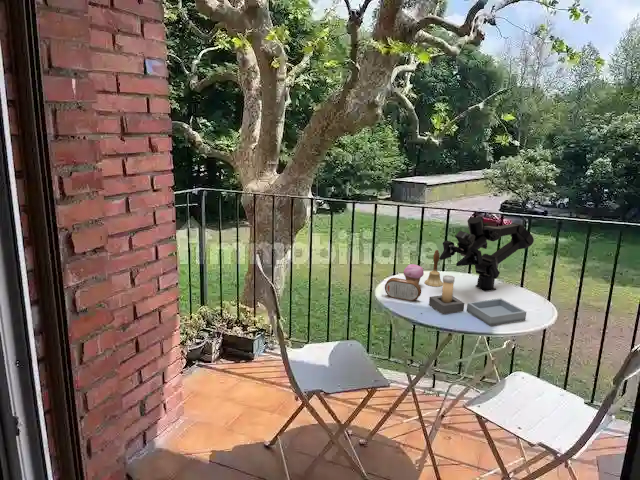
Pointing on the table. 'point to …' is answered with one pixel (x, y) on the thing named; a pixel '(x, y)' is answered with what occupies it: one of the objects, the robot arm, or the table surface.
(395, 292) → the tin
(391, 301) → the table surface
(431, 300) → the frame
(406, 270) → the cupcake
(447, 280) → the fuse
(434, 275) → the hand bell
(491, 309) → the parts tray
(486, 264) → the robot arm
